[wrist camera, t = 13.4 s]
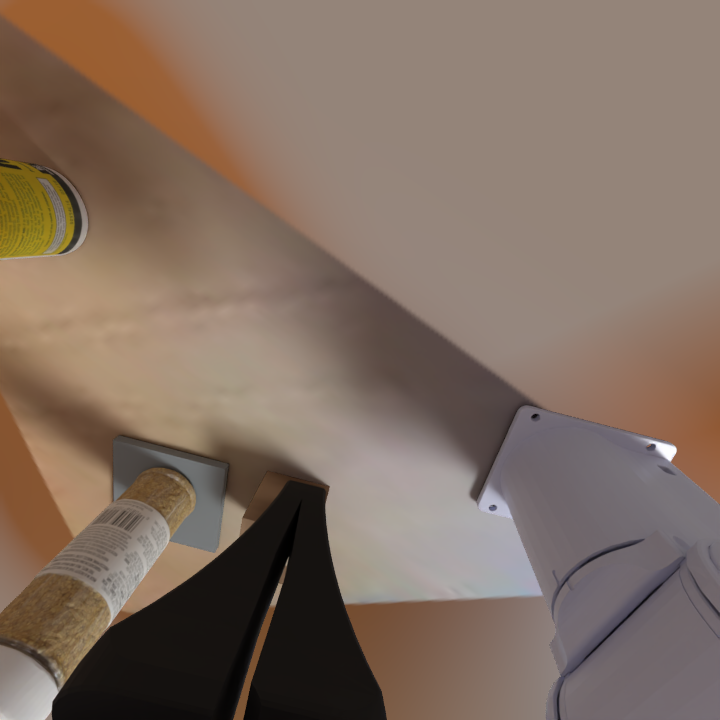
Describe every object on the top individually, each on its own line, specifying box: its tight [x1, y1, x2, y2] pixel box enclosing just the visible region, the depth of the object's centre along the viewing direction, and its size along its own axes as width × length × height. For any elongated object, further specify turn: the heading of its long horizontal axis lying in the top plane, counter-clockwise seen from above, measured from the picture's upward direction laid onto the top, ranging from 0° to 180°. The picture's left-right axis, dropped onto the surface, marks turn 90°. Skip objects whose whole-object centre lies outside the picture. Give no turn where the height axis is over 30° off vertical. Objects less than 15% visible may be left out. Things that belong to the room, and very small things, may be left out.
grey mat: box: [113, 435, 229, 553], centre depth 27 cm, size 8×8×1 cm
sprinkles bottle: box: [0, 468, 196, 720], centre depth 20 cm, size 5×4×14 cm
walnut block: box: [240, 471, 329, 584], centre depth 24 cm, size 4×4×5 cm
